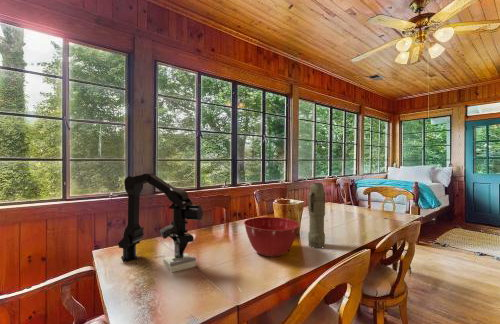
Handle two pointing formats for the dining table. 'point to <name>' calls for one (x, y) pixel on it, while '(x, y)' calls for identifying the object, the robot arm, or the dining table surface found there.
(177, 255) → the metal cylinder rod
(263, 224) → the mixing bowl
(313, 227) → the thermos
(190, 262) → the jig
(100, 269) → the dining table surface
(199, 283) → the dining table surface
